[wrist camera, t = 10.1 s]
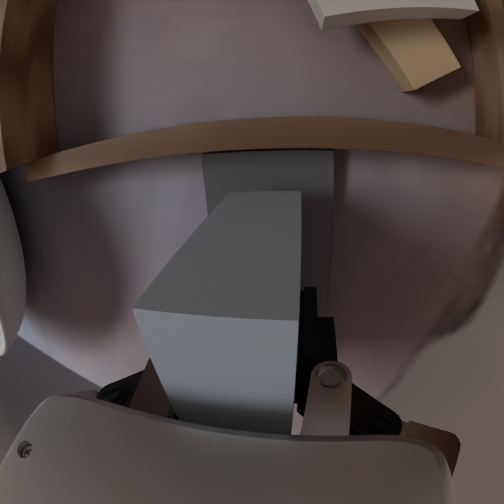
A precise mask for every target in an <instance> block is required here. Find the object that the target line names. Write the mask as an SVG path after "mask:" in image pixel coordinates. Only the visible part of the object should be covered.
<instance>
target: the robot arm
mask: <svg viewBox="0 0 504 504" xmlns="http://www.w3.org/2000/svg"><path fill="white" fill-rule="evenodd" d="M294 403H297V412H298V413H299V414H300V415H301V416H303V417H304V419H303V424H302V429H301V434H300V435H285V434H270V433H259V432H249V431H240V430H232V429H225V428H218V427H212V426H206V425H200V424H195V423H189V422H184V421H180V420H179V419H178V417H177V415H176V413H175V411H174V409H173V407H172V405H171V403H170V401H169V399H168V397H167V394H166V392H165V390H164V388H163V386H162V383H161V381H160V379H159V377H158V374H157V372H156V370H155V367H154V365H153V363H152V360H151V358H149V360H148V362H147V364H146V367H145V369H144V370H143V371H140V372H138V373H136V374H133V375H131V376H128V377H126V378H123V379H121V380H118V381H116V382H113V383H111V384H108V385H107V386H105V387H103V388H102V389H101V390H100V392H98V391H97V390H89V391H80V392H70V393H62V394H58V395H55V396H51V397H49V398H47V399H46V400H44V401H43V402H42V403H41V404H40V405H39V406H38V407H37V408H36V410H35V411H34V412H33V413H32V414H31V416H30V417H29V419H28V420H27V422H26V423H25V424H24V426H23V428H22V429H21V431H20V432H19V434H18V435H17V437H16V439H15V440H14V442H13V444H12V446H11V447H10V449H9V451H8V453H7V455H6V456H5V458H4V460H3V462H2V464H1V466H0V504H456V501H455V492H454V486H453V481H452V476H453V472H454V469H455V466H456V463H457V459H458V455H459V452H460V444H461V443H460V441H459V438H458V437H457V436H456V435H455V434H453V433H451V432H448V431H444V430H440V429H437V428H433V427H430V426H426V425H423V424H419V423H416V422H412V421H409V422H408V423H407V422H404V421H402V420H401V419H400V417H399V416H398V415H397V414H396V413H395V412H394V411H392V410H391V409H389V408H388V407H386V406H385V405H383V404H382V403H380V402H379V401H377V400H376V399H375V398H373V397H372V396H370V395H369V394H367V393H366V392H364V391H363V390H361V389H360V388H359V387H357V386H356V385H354V384H353V383H352V375H351V371H350V370H349V368H348V367H347V366H346V365H344V364H342V363H340V362H338V361H337V348H336V337H335V326H334V318H333V317H318V310H317V288H316V287H304V290H300V311H299V332H298V350H297V366H296V381H295V395H294Z"/></svg>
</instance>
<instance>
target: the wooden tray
mask: <svg viewBox="0 0 504 504" xmlns="http://www.w3.org/2000/svg"><path fill="white" fill-rule="evenodd" d="M475 2H476V4H477V7H478V9H479V11H478V12H476V13H473V14H471V15H469V16H467V17H466V22H467V27H468V32H469V38H470V44H471V51H472V59H473V68H474V79H475V96H476V135H472V134H467V133H463V132H458V131H453V130H447V129H442V128H436V127H430V126H423V125H416V124H409V123H400V122H391V121H381V120H370V119H355V118H334V117H275V118H253V119H238V120H226V121H215V122H206V123H197V124H189V125H182V126H175V127H169V128H162V129H156V130H151V131H145V132H140V133H135V134H130V135H125V136H120V137H116V138H111V139H107V140H103V141H99V142H95V143H91V144H87V145H83V146H79V147H76V148H72V149H69V150H65V151H62V152H59V147H58V139H57V131H56V122H55V111H54V97H53V32H54V19H55V9H56V0H0V173H2V172H4V171H7V170H9V169H12V168H15V167H17V166H20V165H23V170H24V176H25V181H26V183H29V182H33V181H36V180H40V179H44V178H48V177H52V176H56V175H61V174H65V173H69V172H74V171H79V170H83V169H88V168H93V167H99V166H104V165H110V164H115V163H121V162H127V161H134V160H140V159H147V158H155V157H163V156H171V155H180V154H189V153H200V152H211V151H225V150H241V149H264V148H339V149H361V150H377V151H390V152H401V153H411V154H420V155H429V156H436V157H444V158H450V159H457V160H463V161H469V162H475V163H480V164H485V165H490V166H495V167H500V168H504V8H503V4H502V1H501V0H475Z"/></svg>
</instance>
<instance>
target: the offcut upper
mask: <svg viewBox="0 0 504 504" xmlns="http://www.w3.org/2000/svg"><path fill="white" fill-rule="evenodd" d="M307 1H308V3H309V5H310V7H311V9H312V11H313V13H314V15H315V17H316V19H317V22H318V24H319V26H320V28H321V30H326V29H331V28H337V27H342V26H348V25H355V24H361V23H369V22H378V21H388V20H402V19H463V18H465V17H467V16H469V15H471V14H473V13H476V12H478V11H479V9H478V7H477V4H476V2H475V0H307Z"/></svg>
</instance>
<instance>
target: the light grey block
mask: <svg viewBox="0 0 504 504" xmlns="http://www.w3.org/2000/svg"><path fill="white" fill-rule="evenodd" d="M300 286H301V191H246V192H229V193H228V194H227V195H226V196H225V197H224V198H223V199H222V200H221V202H220V203H219V204H218V205H217V206H216V207H215V208H214V209H213V211H212V212H211V213H210V214H209V215H208V216H207V217H206V219H205V220H204V221H203V222H202V223H201V224H200V225H199V227H198V228H197V229H196V230H195V231H194V232H193V234H192V235H191V236H190V237H189V238H188V240H187V241H186V242H185V243H184V244H183V245H182V247H181V248H180V249H179V250H178V251H177V253H176V254H175V255H174V256H173V257H172V259H171V260H170V261H169V262H168V263H167V265H166V266H165V267H164V268H163V270H162V271H161V272H160V273H159V275H158V276H157V277H156V278H155V279H154V281H153V282H152V283H151V284H150V286H149V287H148V288H147V290H146V291H145V292H144V293H143V295H142V296H141V297H140V298H139V300H138V301H137V302H136V304H135V305H134V306H133V307H132V310H133V313H134V316H135V319H136V322H137V324H138V327H139V330H140V332H141V335H142V338H143V340H144V343H145V345H146V348H147V350H148V353H149V355H150V358H151V360H152V363H153V365H154V367H155V370H156V372H157V374H158V377H159V379H160V381H161V383H162V386H163V388H164V390H165V392H166V394H167V397H168V399H169V401H170V403H171V405H172V407H173V409H174V411H175V413H176V415H177V417H178V419H179V420H180V421H184V422H189V423H195V424H200V425H206V426H212V427H218V428H225V429H232V430H240V431H249V432H259V433H270V434H285V435H291V430H292V420H293V409H294V395H295V381H296V366H297V350H298V332H299V311H300Z"/></svg>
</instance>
